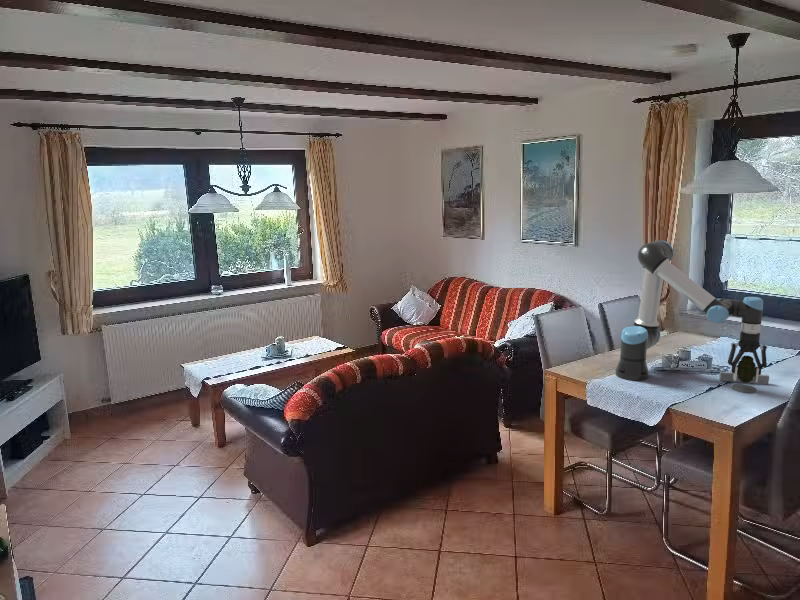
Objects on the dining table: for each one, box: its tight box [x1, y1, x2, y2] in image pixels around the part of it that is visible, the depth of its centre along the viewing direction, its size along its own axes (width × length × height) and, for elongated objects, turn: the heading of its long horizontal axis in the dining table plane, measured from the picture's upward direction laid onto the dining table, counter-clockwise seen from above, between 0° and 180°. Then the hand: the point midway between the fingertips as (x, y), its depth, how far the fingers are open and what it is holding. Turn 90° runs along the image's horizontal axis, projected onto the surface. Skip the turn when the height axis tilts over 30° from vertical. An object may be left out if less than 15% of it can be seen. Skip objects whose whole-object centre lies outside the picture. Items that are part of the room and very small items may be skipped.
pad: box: [731, 383, 758, 394], centre depth 263 cm, size 10×10×1 cm
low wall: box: [718, 371, 770, 385], centre depth 272 cm, size 20×2×4 cm, turn 72°
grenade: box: [736, 355, 757, 384], centre depth 261 cm, size 8×8×12 cm
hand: (745, 380), depth 262 cm, fingers closed on grenade, 8 cm apart
